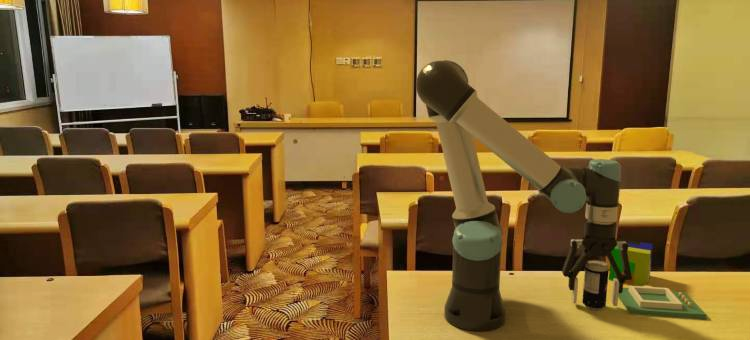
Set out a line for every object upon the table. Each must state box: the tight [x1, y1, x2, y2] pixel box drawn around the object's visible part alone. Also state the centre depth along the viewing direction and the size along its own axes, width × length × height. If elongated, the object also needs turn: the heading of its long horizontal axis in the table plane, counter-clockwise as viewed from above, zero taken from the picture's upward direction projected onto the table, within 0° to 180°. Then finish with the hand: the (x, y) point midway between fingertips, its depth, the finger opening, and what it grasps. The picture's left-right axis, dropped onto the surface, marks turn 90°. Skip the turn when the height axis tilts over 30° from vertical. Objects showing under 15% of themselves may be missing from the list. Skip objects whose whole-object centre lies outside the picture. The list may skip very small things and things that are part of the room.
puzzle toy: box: [608, 238, 654, 287], centre depth 158 cm, size 10×10×10 cm
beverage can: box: [582, 259, 610, 311], centre depth 139 cm, size 6×6×12 cm
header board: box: [618, 285, 708, 320], centre depth 141 cm, size 18×14×3 cm
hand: (594, 302), depth 140 cm, fingers open, 9 cm apart
